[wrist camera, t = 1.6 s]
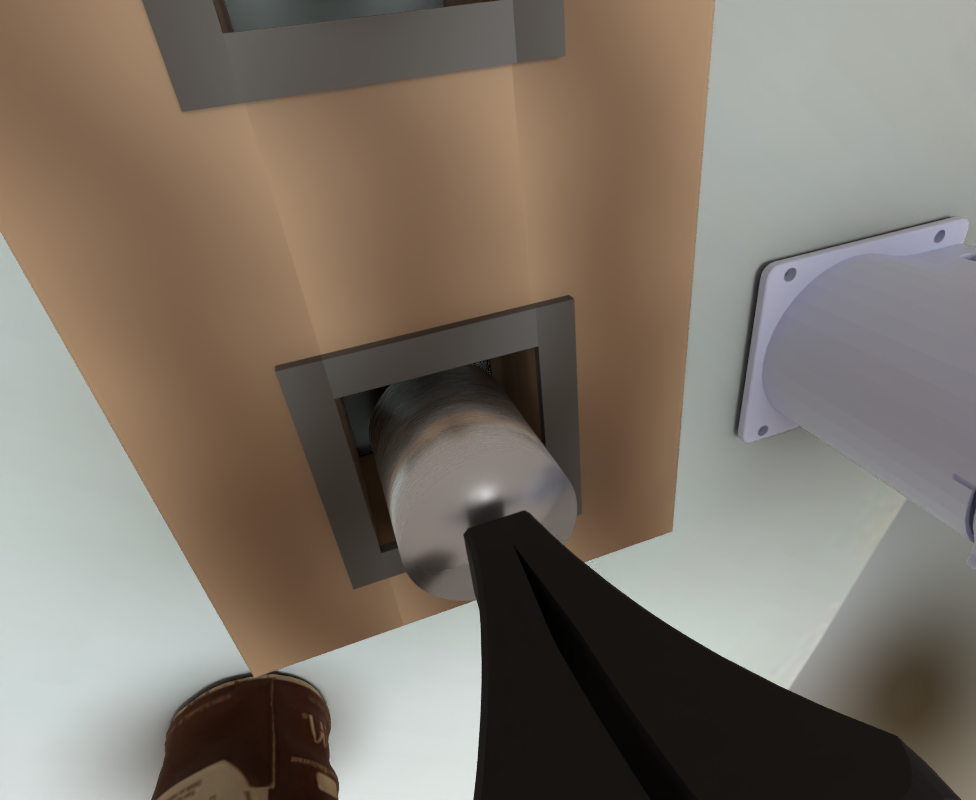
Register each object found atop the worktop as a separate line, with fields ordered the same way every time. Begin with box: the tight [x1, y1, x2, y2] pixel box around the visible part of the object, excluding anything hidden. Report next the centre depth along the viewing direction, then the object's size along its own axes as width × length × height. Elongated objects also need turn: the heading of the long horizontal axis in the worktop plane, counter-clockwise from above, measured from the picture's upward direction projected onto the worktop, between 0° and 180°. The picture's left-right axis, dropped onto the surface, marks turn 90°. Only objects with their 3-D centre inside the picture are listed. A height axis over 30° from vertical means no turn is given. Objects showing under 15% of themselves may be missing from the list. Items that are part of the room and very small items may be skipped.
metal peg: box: [369, 364, 577, 601], centre depth 14 cm, size 4×4×4 cm
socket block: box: [0, 0, 715, 678], centre depth 13 cm, size 14×24×5 cm, turn 7°
